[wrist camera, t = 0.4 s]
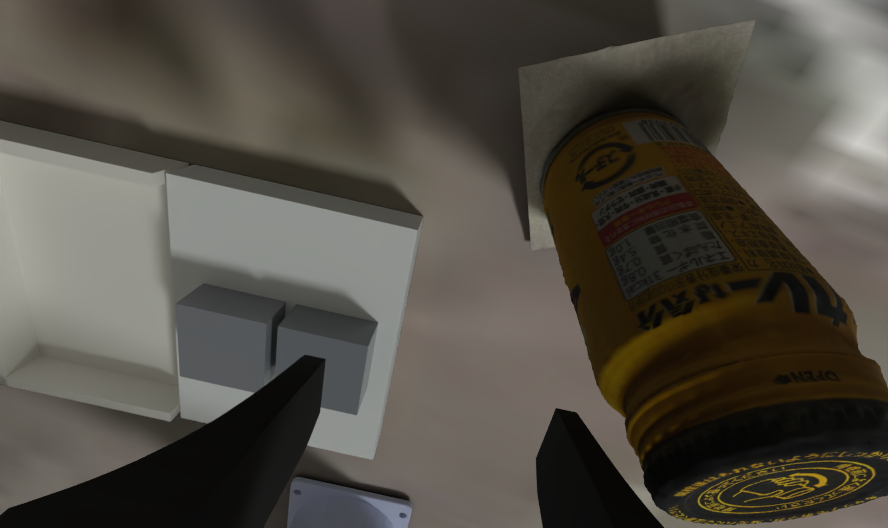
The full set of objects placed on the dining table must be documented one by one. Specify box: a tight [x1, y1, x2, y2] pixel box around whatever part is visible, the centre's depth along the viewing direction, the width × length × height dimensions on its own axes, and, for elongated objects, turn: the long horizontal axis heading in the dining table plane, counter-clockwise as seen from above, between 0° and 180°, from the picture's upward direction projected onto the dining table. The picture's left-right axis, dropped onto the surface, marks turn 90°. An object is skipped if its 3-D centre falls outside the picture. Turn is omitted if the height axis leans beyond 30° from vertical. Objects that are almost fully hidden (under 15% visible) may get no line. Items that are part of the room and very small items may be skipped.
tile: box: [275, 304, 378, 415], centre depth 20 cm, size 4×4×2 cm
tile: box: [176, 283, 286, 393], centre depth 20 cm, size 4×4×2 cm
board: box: [166, 165, 424, 460], centre depth 22 cm, size 14×11×2 cm
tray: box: [0, 120, 189, 422], centre depth 22 cm, size 14×10×2 cm
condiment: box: [518, 20, 888, 525], centre depth 12 cm, size 7×8×12 cm
